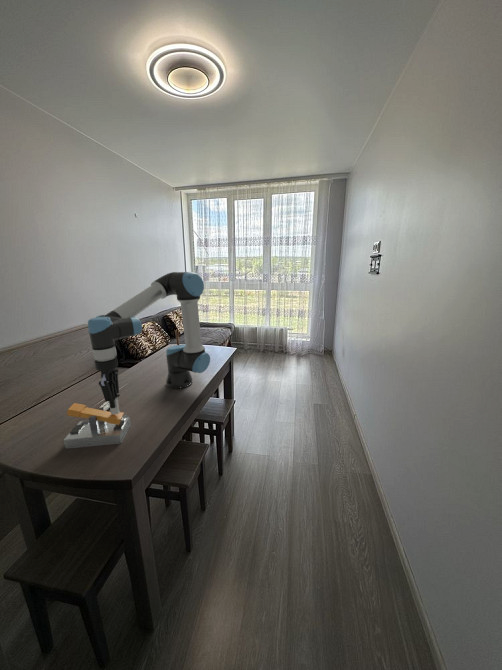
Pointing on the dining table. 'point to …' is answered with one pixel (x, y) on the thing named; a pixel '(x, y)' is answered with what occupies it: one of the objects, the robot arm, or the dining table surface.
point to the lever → (94, 414)
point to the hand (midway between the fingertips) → (115, 413)
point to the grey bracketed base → (96, 433)
